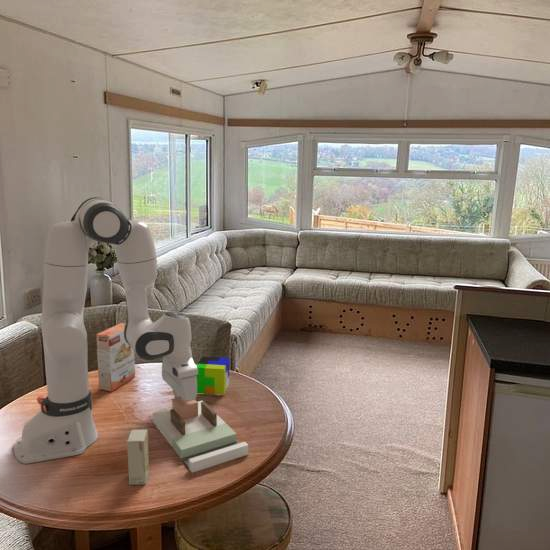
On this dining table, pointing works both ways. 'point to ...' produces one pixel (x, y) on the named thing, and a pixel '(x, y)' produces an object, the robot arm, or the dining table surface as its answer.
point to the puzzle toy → (212, 375)
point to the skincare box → (138, 457)
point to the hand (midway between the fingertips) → (178, 402)
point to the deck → (200, 440)
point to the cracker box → (114, 358)
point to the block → (185, 408)
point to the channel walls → (205, 411)
